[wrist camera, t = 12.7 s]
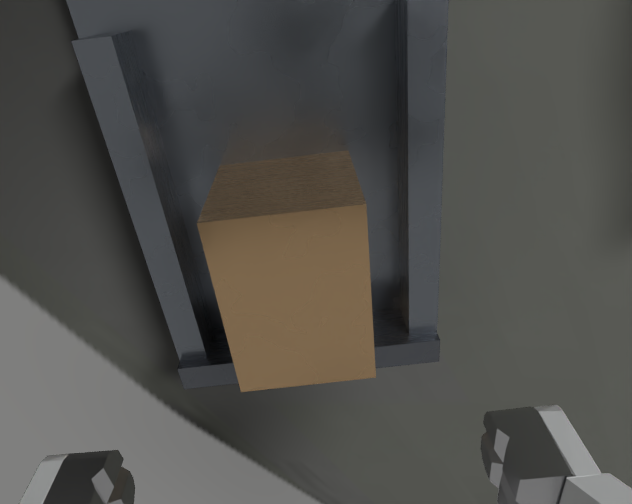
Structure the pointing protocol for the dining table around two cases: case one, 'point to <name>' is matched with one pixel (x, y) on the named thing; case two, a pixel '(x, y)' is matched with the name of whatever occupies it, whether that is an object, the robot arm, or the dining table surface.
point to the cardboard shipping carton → (291, 270)
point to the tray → (274, 139)
